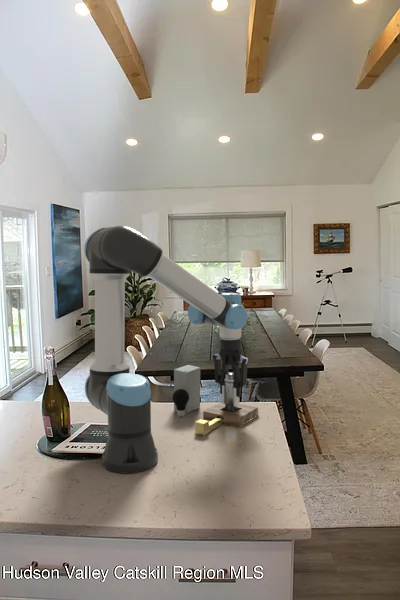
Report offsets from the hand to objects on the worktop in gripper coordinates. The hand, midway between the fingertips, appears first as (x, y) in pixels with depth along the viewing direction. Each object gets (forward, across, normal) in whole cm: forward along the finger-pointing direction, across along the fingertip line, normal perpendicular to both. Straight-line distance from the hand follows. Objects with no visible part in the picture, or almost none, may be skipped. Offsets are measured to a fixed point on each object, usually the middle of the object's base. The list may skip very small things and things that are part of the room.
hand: (230, 404), depth 166 cm
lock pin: (+5, 0, +13) cm, 14 cm away
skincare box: (+5, +18, +1) cm, 19 cm away
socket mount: (+5, 0, 0) cm, 5 cm away
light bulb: (+5, +15, +9) cm, 18 cm away
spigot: (+3, 0, 0) cm, 3 cm away
